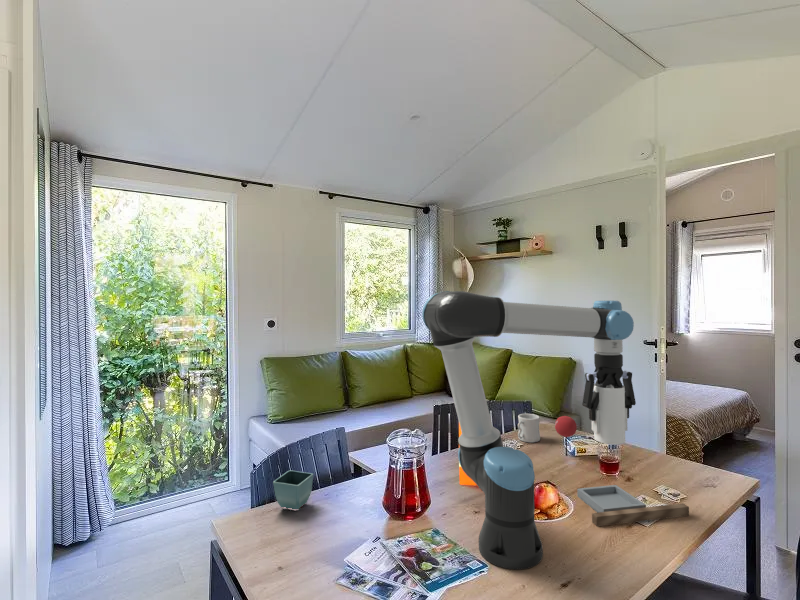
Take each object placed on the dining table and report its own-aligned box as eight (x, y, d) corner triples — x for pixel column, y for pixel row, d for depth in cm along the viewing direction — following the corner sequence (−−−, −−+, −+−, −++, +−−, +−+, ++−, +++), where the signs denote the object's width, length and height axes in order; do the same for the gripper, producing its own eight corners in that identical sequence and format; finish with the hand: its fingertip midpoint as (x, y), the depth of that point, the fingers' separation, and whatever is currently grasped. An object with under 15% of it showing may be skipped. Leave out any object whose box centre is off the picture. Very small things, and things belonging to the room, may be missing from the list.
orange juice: (486, 486, 141) (485, 425, 141) (459, 484, 143) (458, 424, 143) (485, 476, 149) (484, 418, 149) (459, 474, 151) (458, 417, 150)
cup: (629, 445, 123) (628, 388, 122) (598, 443, 124) (597, 388, 124) (620, 435, 131) (619, 382, 130) (591, 434, 132) (590, 382, 132)
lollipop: (562, 450, 172) (561, 412, 172) (580, 455, 166) (580, 416, 166) (551, 455, 167) (551, 416, 167) (570, 460, 161) (569, 420, 161)
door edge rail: (596, 526, 116) (596, 516, 116) (592, 522, 118) (592, 513, 118) (688, 515, 120) (688, 506, 120) (683, 512, 122) (683, 503, 122)
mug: (525, 434, 192) (525, 412, 191) (544, 439, 185) (544, 416, 184) (509, 441, 184) (508, 417, 183) (527, 446, 177) (527, 422, 177)
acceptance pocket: (603, 517, 120) (603, 509, 120) (577, 496, 133) (577, 488, 133) (645, 513, 122) (645, 504, 122) (615, 492, 135) (615, 484, 135)
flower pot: (299, 516, 124) (298, 485, 124) (272, 512, 127) (272, 481, 127) (314, 502, 133) (314, 473, 133) (289, 498, 136) (289, 469, 135)
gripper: (582, 356, 122) (583, 437, 122) (649, 353, 125) (650, 431, 125) (568, 352, 129) (569, 428, 129) (631, 350, 132) (632, 424, 133)
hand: (609, 430), depth 127 cm, fingers closed on cup, 8 cm apart
